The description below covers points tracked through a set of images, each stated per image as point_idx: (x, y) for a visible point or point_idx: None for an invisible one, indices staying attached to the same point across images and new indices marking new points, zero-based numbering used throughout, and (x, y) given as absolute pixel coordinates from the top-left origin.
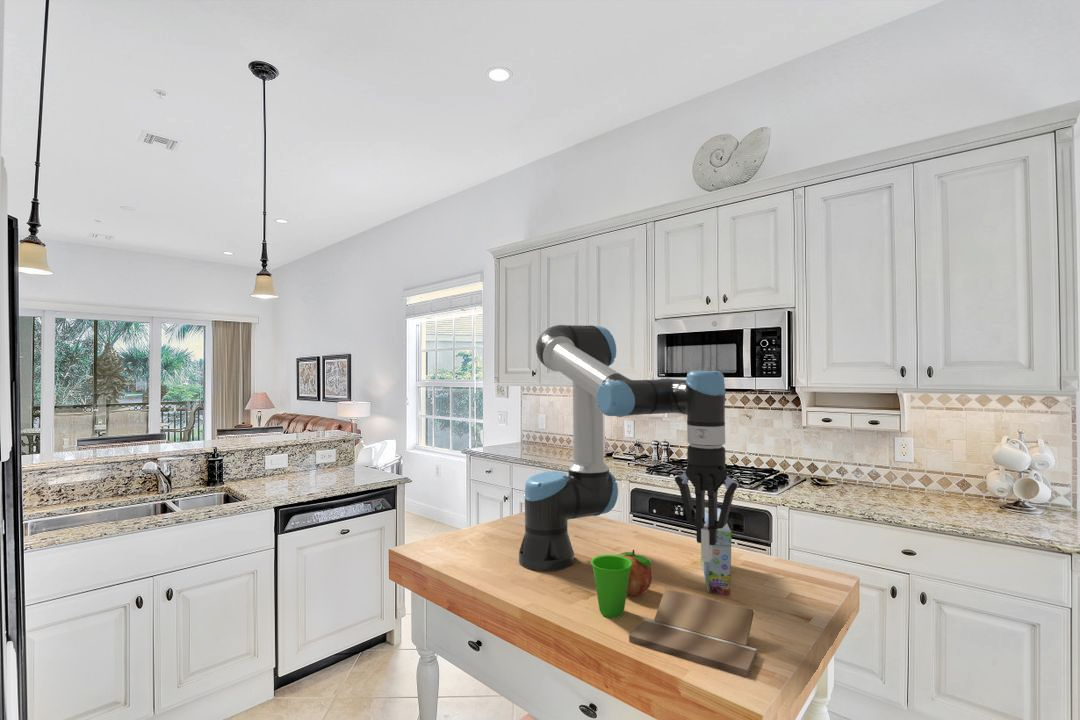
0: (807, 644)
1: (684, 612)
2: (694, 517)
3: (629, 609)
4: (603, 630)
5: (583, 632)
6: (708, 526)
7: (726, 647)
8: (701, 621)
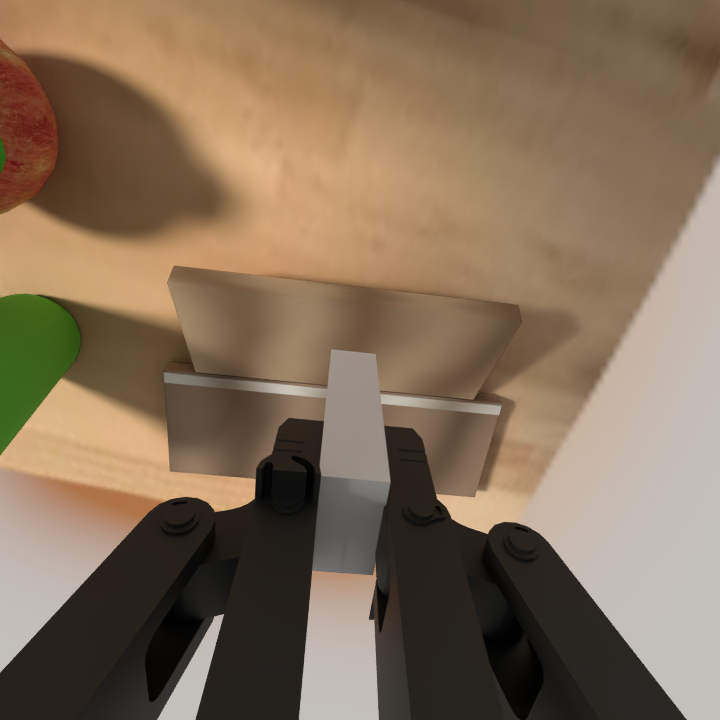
0: (650, 274)
1: (280, 347)
2: (205, 586)
3: (78, 284)
4: (86, 438)
5: (48, 466)
6: (374, 601)
7: (423, 427)
8: None
